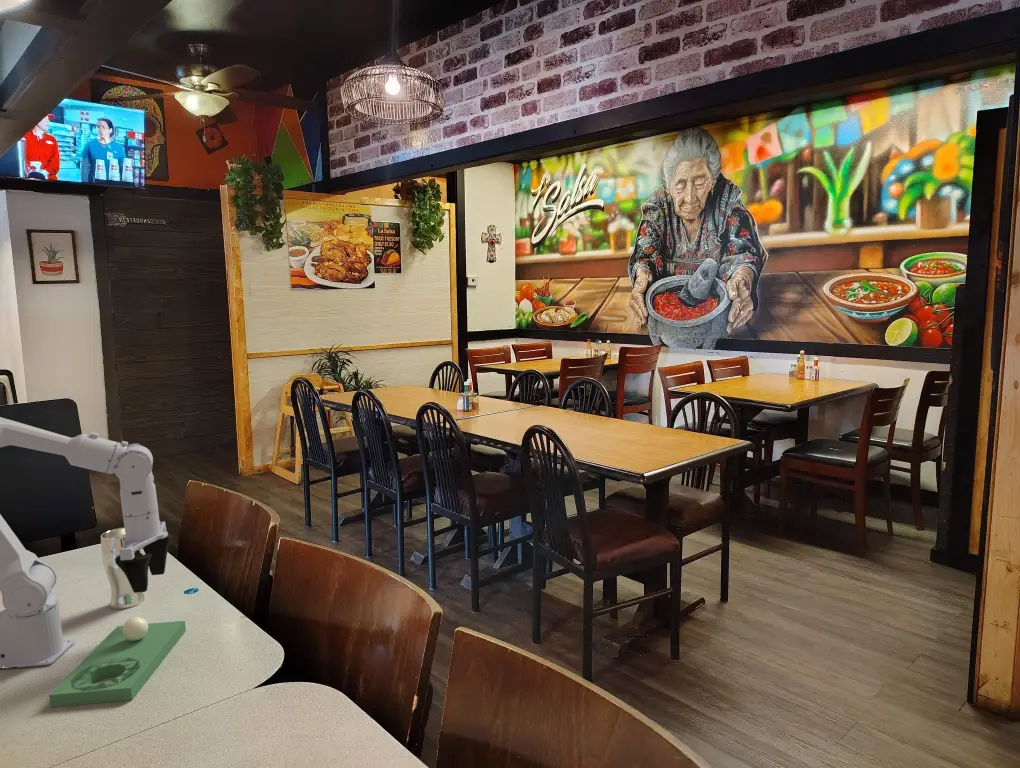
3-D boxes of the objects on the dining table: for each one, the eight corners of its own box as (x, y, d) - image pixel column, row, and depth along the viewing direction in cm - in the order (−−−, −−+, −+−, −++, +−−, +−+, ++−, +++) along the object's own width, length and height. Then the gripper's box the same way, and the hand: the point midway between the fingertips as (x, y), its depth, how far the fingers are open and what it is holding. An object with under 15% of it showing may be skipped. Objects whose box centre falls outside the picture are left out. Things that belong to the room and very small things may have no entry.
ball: (119, 646, 119) (116, 624, 118) (130, 634, 123) (127, 613, 122) (143, 644, 119) (140, 622, 118) (153, 633, 123) (150, 611, 122)
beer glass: (130, 611, 137) (121, 539, 135) (100, 609, 138) (91, 538, 136) (154, 595, 144) (146, 527, 142) (125, 594, 145) (117, 526, 143)
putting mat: (50, 707, 105) (48, 695, 105) (118, 636, 127) (117, 626, 126) (132, 699, 106) (130, 687, 106) (185, 630, 128) (184, 620, 127)
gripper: (146, 523, 118) (155, 597, 120) (178, 498, 132) (186, 565, 134) (103, 526, 117) (113, 601, 119) (140, 501, 132) (149, 568, 134)
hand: (149, 582), depth 127 cm, fingers open, 7 cm apart
